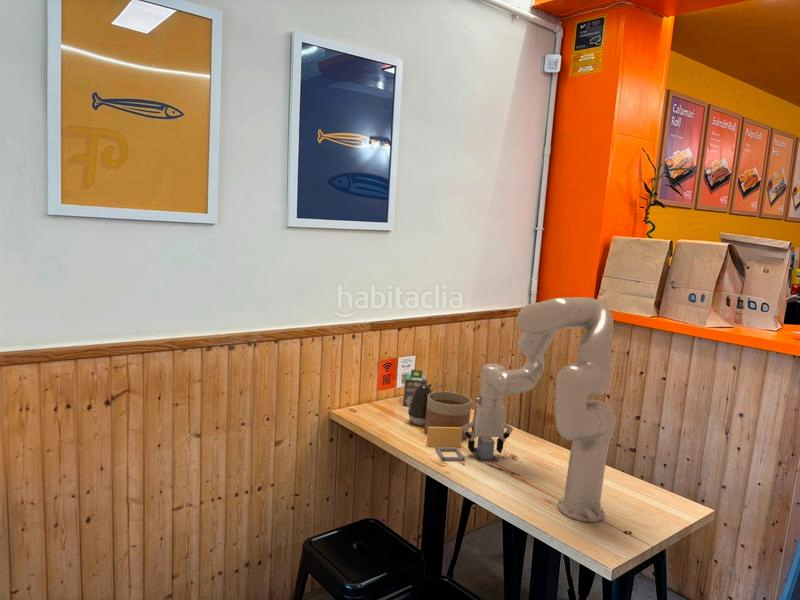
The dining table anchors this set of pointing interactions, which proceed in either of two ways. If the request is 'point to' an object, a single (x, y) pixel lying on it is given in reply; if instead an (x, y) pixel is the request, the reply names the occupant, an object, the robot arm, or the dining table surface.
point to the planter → (447, 410)
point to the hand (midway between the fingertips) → (485, 451)
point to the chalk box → (412, 385)
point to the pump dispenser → (419, 404)
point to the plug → (485, 447)
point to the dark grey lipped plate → (483, 459)
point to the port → (445, 441)
